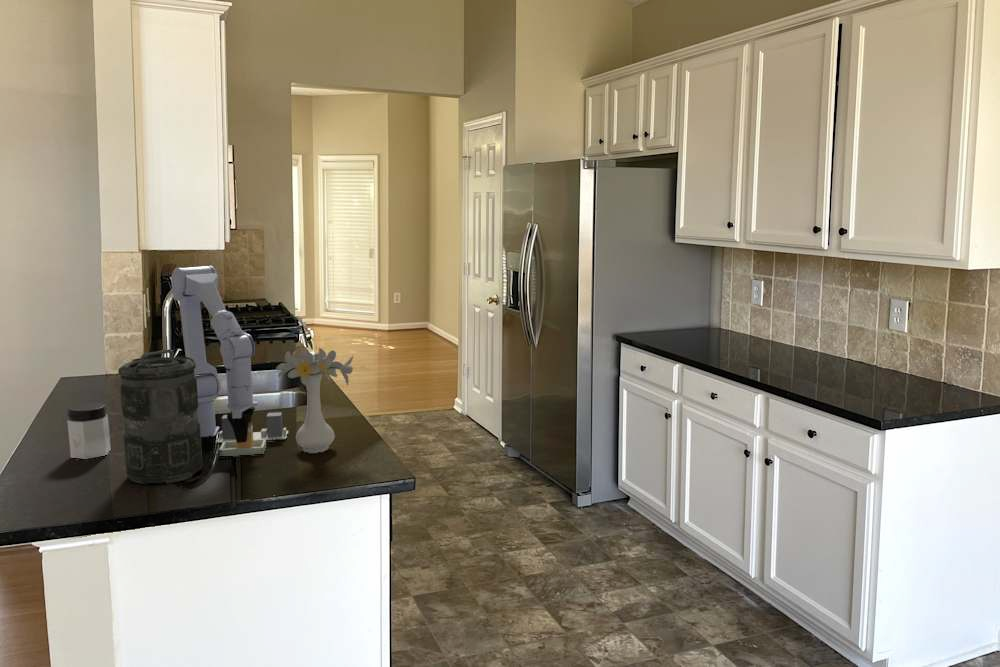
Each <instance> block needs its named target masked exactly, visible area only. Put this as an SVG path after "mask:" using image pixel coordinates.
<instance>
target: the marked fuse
mask: <svg viewBox="0 0 1000 667" xmlns="http://www.w3.org/2000/svg"><path fill="white" fill-rule="evenodd" d="M253 425H254V424H253V422H251V423H249V425H248V434H247V440H246V442H239V443H237V441H236V447H237V448H251V447H252V446H253V432H254V431H253V429H254V427H253Z"/></svg>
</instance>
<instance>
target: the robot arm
mask: <svg viewBox="0 0 1000 667" xmlns="http://www.w3.org/2000/svg"><path fill="white" fill-rule="evenodd" d="M170 281H171V282H170V283H171V290H172V291H171V292H172V296H173V297H172V298H173V299H174V300H175V301H178V302H179V305H178V306H179V311H180V318H181V326H182V338H183V346H184V352H185V355H184V356H185V357H189V358H191V359H193V361H194V362H195V363H196V368H195V369H194V372H195V378H196V380H197V395H198V408H197V416H198V422H199V423H200V432H201V438H209V436H211V437H215V436H217V433H219V430H220V428H221V427H220V426H216V410H215V400H217V396H219V395H220V392H221V388H222V386H221V381H220V378H219V375H218V371H217V368H216V367H215V366H213V365H211V364H210V363H208V362H207V354H206V345H205V335H204V327H203V325H204V324H203V320H202V319H203V318H202V310H201V302H202V304H204V305H203V306H204V307H205V308H206V310H207V312H208V313H209V314H210V316H211V317H212V318H211V320H210V326H211V327H212V329H213V330H214V333H215V335H216V337H217V338H218V340H219V342H220V347H219V351H220V355H221V357H222V362H223V363H222V364H223V366H224V368H225V371H226V372H225V373H226V389H227V404H226V405H227V408H228V409H229V410H230V413H227V414H226V415H227V419H228V420H229V422H230V423H231V425H232V428H233V431H234V434H235V438H236V441H237V443H239V442H246V440H247V434H248V425H249V423H252V422H251V421H252V417H253V415H254V411H255V410H256V406H258V405H259V401H257V400H254V397H253V395H254V394H253V380H252V379H253V378H252V377H253V376H252V361H251V360H252V358H253V357H254V356H255V353H256V345H255V344H256V343H255V342H254V339H253V337H252V335H251V334H249V333H247V332H246V331H243V329H242V328H241V326H240V324H239V323H238V321H237V318H236V317H235V315H234V313H233V312H232V311H228V310H226V306H225V304H224V302H223V300H222V297H221V294H220V293H219V291H218V286H219V276H218V272H217V269H215V267H214V266H213V265H211V264H210V265H206V266H192V267H191V266H190V267H175V268H174V270H173V271H172V274H171V276H170Z"/></svg>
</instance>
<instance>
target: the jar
mask: <svg viewBox="0 0 1000 667" xmlns="http://www.w3.org/2000/svg"><path fill="white" fill-rule="evenodd" d="M67 417H68V420H67V421H66V422H67V430H68V441H69V452H70V459H71V458H81V459H88V458H94V457H99V456H105V455H107V456H108V455H109V453H110V452H111V451H110V450H112V449H111V438H110V437H111V436H110V426H109V416H108V414H107V407H106V404H105V403H102V402H86V403H80V404H79V403H78V404H75V405H72V406H69V407H68V408H67ZM109 451H110V452H109ZM105 457H106V456H105Z"/></svg>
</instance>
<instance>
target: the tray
mask: <svg viewBox="0 0 1000 667" xmlns="http://www.w3.org/2000/svg"><path fill="white" fill-rule="evenodd" d="M267 442H268V441H267ZM267 442H266V439H257V440H253V446H252V447H251V448H237V447H236V441H224V442H223V443H222V444H220V447H219V449H218V455H219V456H233V457H240V456H239V455H251V456H255V455H254V454H265V452H266V449H267V447H266V445H267ZM267 446H268V445H267ZM265 448H266V449H265ZM264 451H265V452H264ZM219 456H218V457H219Z"/></svg>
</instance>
